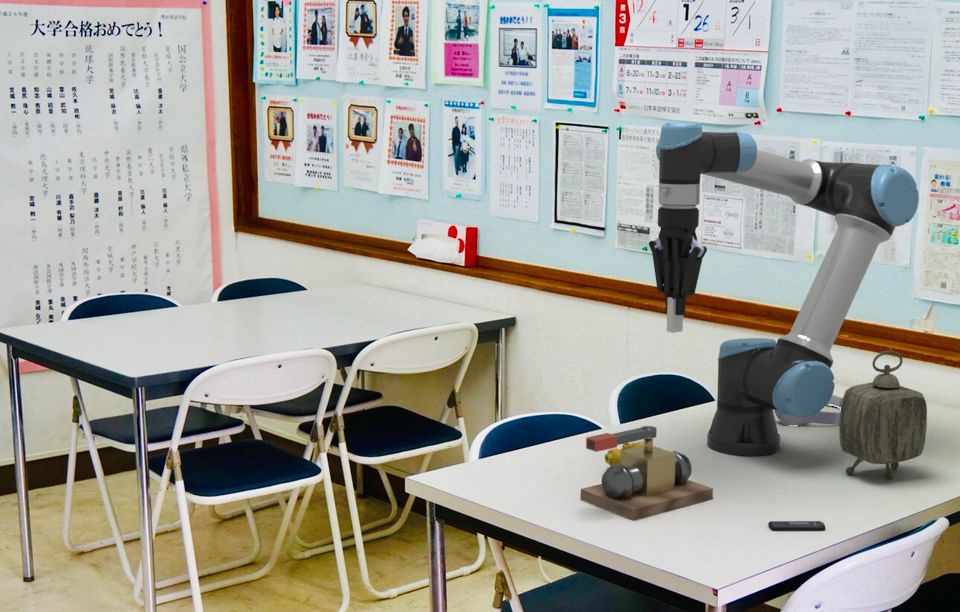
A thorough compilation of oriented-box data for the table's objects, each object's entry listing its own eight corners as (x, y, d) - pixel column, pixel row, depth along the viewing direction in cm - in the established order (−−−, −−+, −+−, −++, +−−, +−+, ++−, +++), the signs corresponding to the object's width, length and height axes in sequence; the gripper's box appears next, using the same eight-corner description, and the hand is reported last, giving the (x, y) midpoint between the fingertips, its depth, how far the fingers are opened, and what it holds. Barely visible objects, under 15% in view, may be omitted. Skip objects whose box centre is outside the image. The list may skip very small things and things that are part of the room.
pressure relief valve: (599, 465, 245) (643, 460, 248) (627, 493, 234) (673, 487, 238) (602, 440, 243) (647, 436, 247) (631, 467, 232) (677, 461, 236)
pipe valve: (668, 478, 233) (669, 426, 232) (695, 488, 228) (697, 435, 226) (597, 496, 223) (598, 442, 221) (624, 506, 217) (625, 451, 216)
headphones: (772, 425, 276) (863, 435, 274) (776, 395, 275) (867, 404, 272) (764, 402, 298) (849, 410, 295) (768, 373, 297) (853, 382, 294)
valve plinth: (658, 479, 237) (658, 469, 237) (712, 498, 226) (713, 488, 226) (580, 499, 225) (580, 488, 225) (633, 520, 214) (633, 509, 214)
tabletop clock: (896, 466, 246) (904, 344, 242) (927, 479, 238) (936, 353, 234) (836, 473, 241) (843, 349, 237) (866, 487, 233) (874, 358, 229)
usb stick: (770, 533, 209) (771, 524, 209) (766, 528, 212) (767, 519, 212) (825, 533, 209) (826, 524, 209) (821, 528, 212) (821, 519, 212)
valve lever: (648, 434, 225) (648, 423, 225) (659, 437, 223) (659, 427, 223) (585, 448, 216) (585, 437, 216) (596, 451, 214) (596, 440, 214)
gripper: (639, 204, 230) (635, 328, 234) (690, 210, 220) (685, 339, 224) (667, 202, 234) (664, 324, 238) (718, 208, 224) (714, 334, 228)
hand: (674, 331), depth 231 cm, fingers closed
